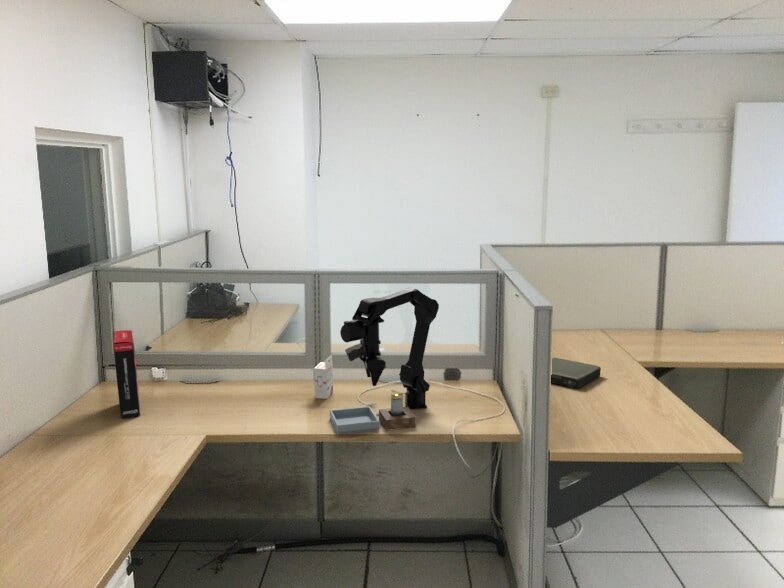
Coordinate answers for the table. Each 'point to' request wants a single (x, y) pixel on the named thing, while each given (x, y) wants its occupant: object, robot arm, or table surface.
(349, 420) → the tray
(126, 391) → the graphics card box
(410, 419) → the hitch block
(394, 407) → the steel pin
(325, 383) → the ink cartridge box
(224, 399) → the table surface
